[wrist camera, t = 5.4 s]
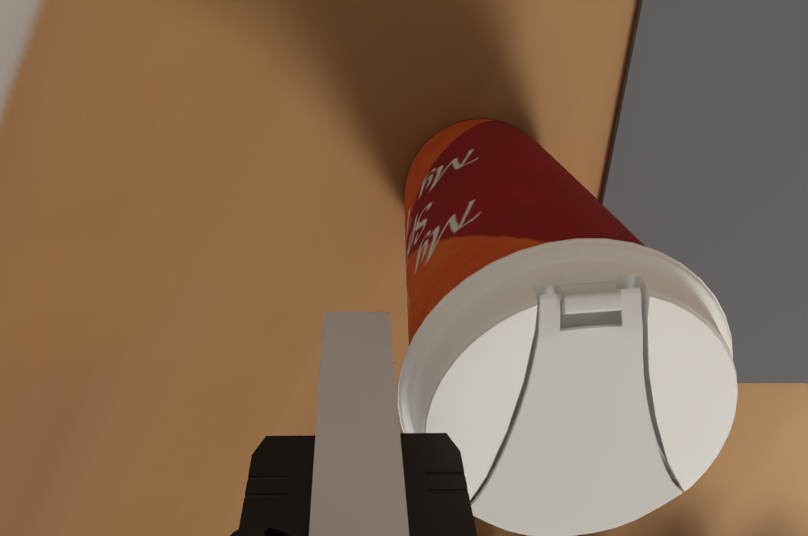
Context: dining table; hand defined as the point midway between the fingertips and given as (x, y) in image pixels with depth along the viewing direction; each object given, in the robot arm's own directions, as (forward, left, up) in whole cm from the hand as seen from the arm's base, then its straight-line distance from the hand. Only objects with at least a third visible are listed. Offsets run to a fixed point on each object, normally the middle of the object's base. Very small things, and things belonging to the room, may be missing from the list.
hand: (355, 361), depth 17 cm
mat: (+18, 0, -12) cm, 21 cm away
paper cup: (+5, 0, -12) cm, 13 cm away
